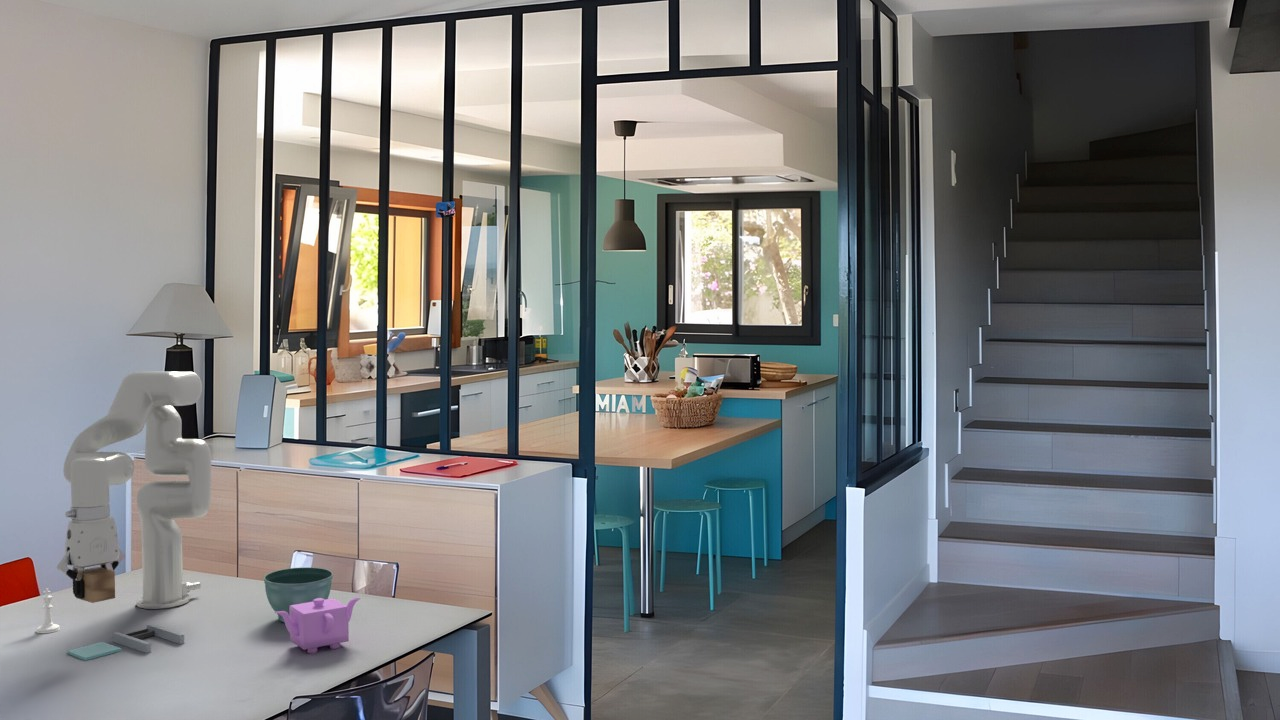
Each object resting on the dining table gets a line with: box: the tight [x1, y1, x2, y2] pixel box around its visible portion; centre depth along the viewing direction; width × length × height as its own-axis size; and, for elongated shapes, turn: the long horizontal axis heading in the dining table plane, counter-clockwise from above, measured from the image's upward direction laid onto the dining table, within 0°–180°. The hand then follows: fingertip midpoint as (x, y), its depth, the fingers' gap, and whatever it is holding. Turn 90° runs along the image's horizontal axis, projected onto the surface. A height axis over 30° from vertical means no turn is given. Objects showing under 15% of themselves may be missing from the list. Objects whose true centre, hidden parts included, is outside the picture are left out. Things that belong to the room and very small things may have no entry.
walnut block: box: [75, 566, 116, 604], centre depth 238 cm, size 5×7×6 cm
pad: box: [66, 641, 122, 661], centre depth 240 cm, size 8×8×1 cm
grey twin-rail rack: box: [112, 623, 185, 654], centre depth 247 cm, size 9×14×2 cm, turn 54°
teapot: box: [274, 597, 362, 654], centre depth 244 cm, size 15×13×11 cm
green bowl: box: [263, 566, 334, 623], centre depth 266 cm, size 16×16×11 cm
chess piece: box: [36, 587, 61, 634], centre depth 256 cm, size 5×5×10 cm
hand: (92, 593), depth 239 cm, fingers closed on walnut block, 5 cm apart
